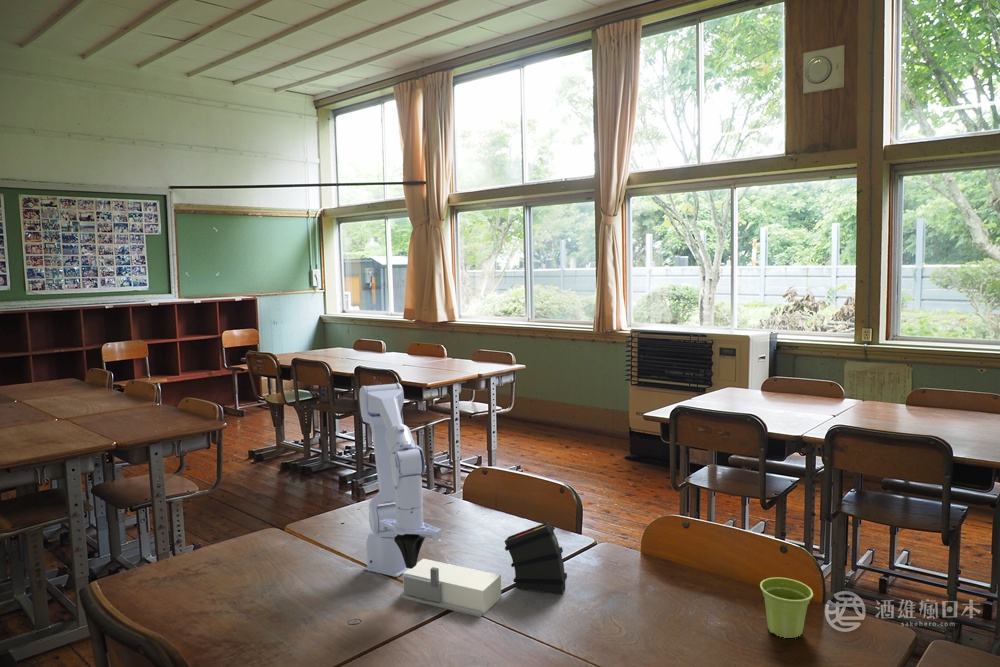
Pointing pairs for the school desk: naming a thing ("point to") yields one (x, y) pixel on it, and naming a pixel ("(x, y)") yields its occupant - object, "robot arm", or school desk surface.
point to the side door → (424, 586)
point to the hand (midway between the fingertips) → (411, 566)
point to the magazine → (537, 560)
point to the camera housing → (459, 587)
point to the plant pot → (785, 605)
